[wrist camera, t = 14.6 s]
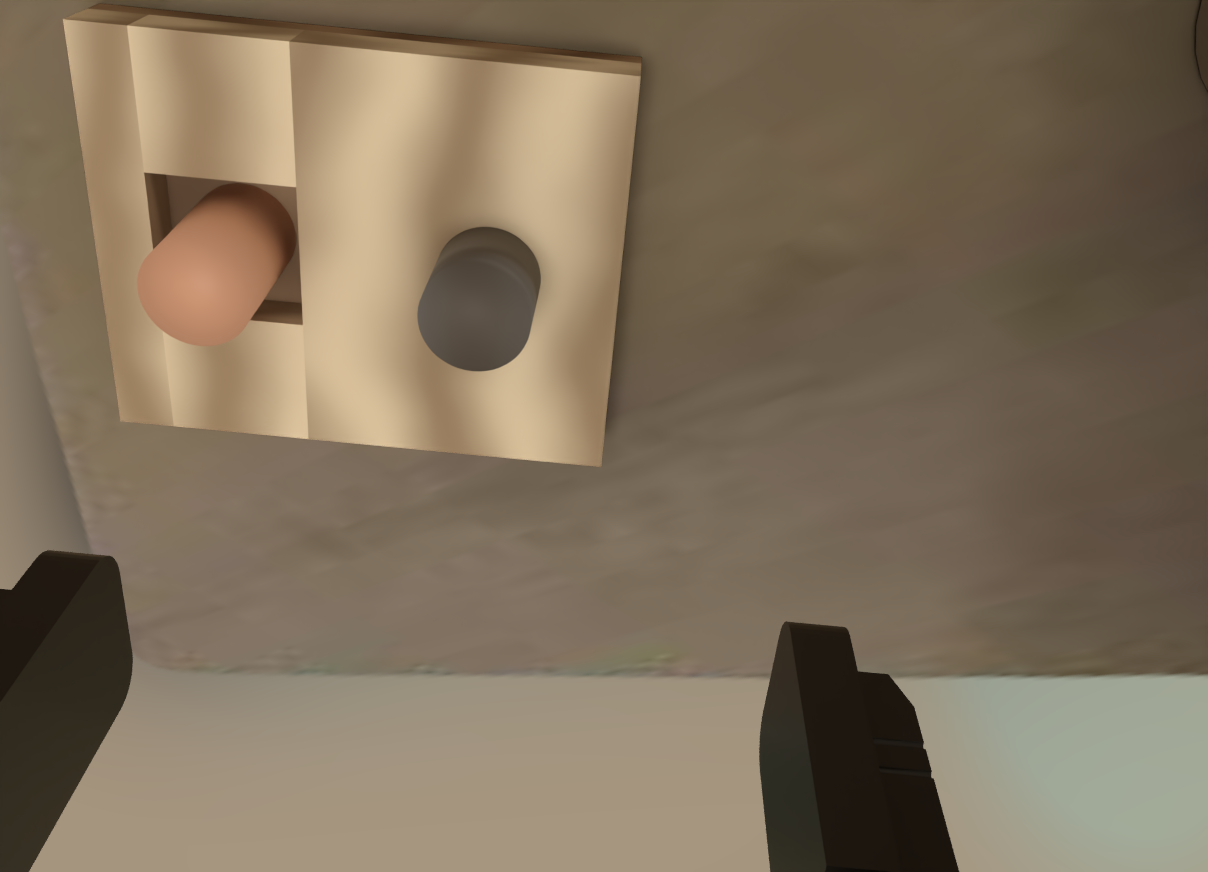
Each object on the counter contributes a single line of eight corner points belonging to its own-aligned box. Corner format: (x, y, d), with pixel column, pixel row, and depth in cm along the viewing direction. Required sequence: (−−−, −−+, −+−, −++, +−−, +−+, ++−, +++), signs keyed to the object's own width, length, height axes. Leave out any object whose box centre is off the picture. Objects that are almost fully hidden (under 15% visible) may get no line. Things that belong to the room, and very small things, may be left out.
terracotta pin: (291, 186, 45) (246, 244, 39) (299, 282, 47) (257, 349, 41) (187, 180, 45) (129, 237, 39) (200, 276, 47) (146, 342, 41)
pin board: (641, 57, 43) (639, 105, 37) (604, 430, 51) (596, 521, 45) (99, 3, 42) (6, 43, 36) (148, 387, 50) (79, 472, 44)
